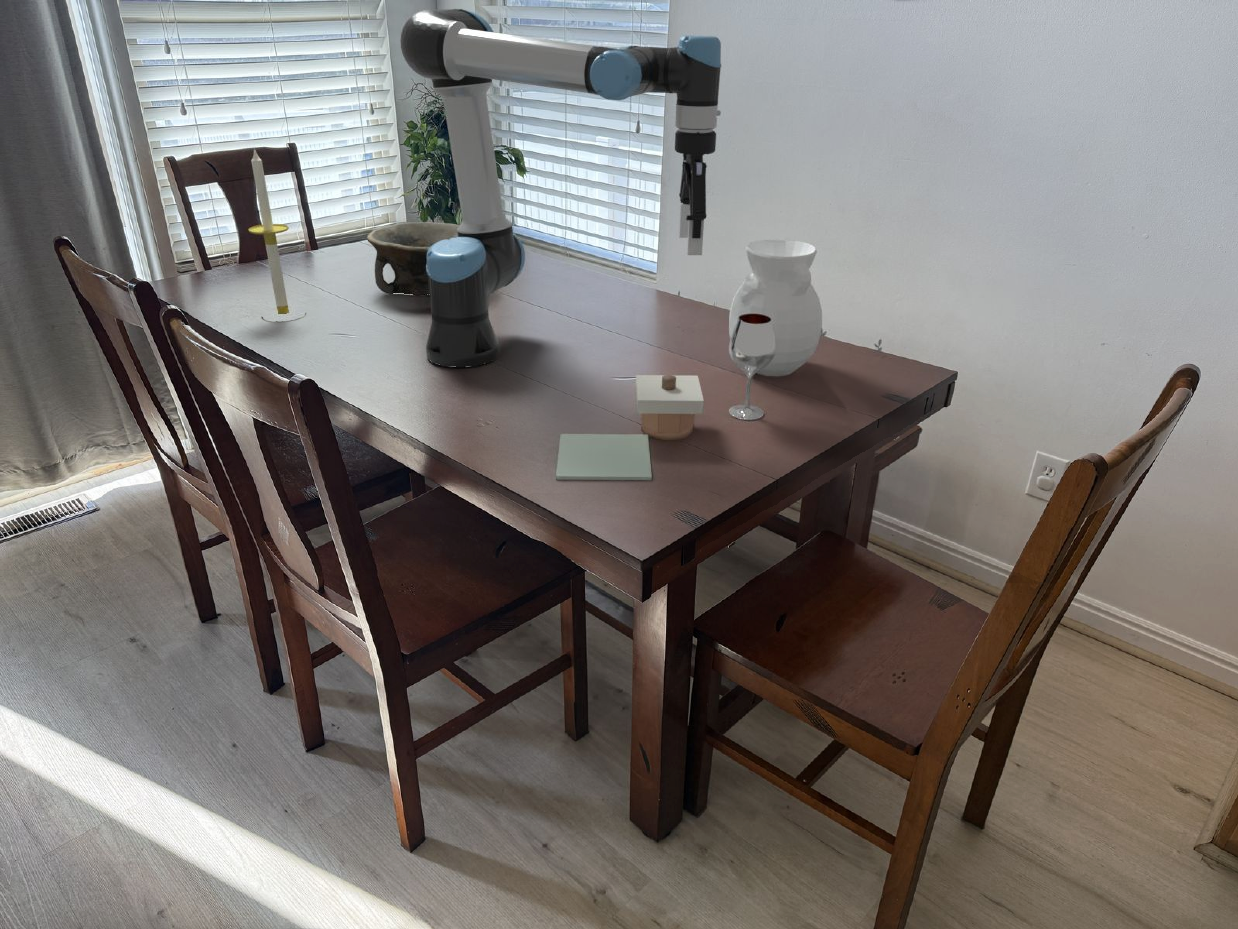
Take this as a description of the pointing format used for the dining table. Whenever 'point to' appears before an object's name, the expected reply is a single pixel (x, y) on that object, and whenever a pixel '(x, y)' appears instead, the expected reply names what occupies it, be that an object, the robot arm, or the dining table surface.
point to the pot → (667, 425)
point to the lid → (668, 394)
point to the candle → (269, 235)
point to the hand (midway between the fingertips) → (690, 245)
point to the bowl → (407, 254)
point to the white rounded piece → (782, 301)
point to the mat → (603, 457)
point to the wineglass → (751, 355)
